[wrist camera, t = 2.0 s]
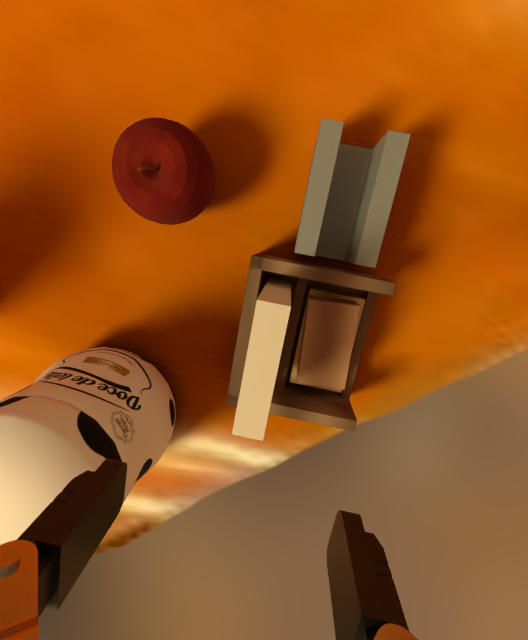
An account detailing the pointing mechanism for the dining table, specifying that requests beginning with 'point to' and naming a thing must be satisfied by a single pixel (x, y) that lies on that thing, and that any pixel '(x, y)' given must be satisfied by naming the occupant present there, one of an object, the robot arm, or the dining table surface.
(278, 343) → the cream rectangular board
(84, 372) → the milk container
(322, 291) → the offcut large
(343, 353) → the offcut small
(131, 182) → the apple
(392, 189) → the holder
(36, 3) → the dining table surface
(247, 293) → the box
